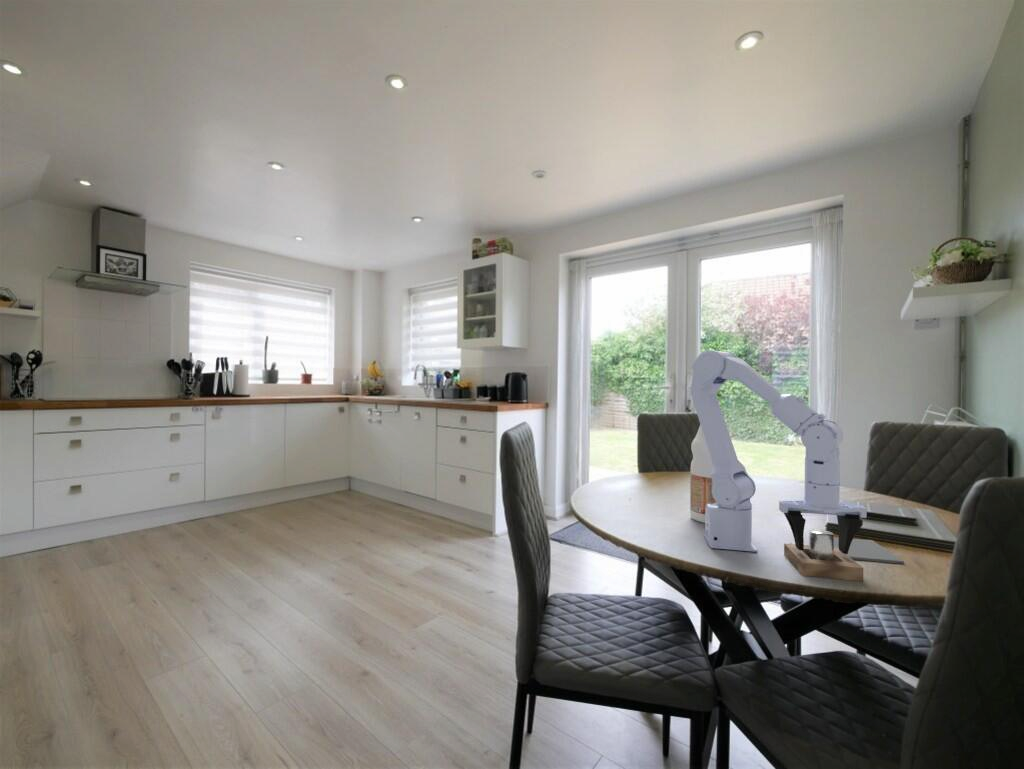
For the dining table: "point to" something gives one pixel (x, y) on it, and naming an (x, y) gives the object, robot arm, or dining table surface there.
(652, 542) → the dining table surface
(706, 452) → the fruit juice
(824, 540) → the plug
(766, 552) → the dining table surface
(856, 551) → the mat
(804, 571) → the holder
